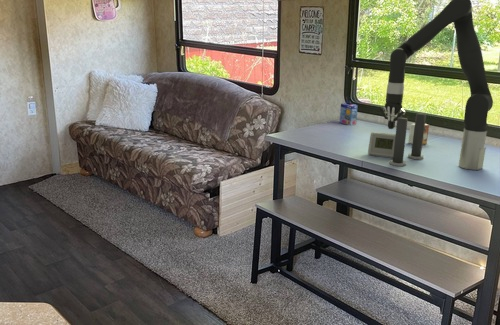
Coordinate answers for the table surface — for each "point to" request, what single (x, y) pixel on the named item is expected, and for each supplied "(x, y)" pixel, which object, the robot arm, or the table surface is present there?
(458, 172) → the table surface
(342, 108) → the ink cartridge box
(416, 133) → the post right
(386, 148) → the digital clock
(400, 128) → the post left
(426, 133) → the small box
